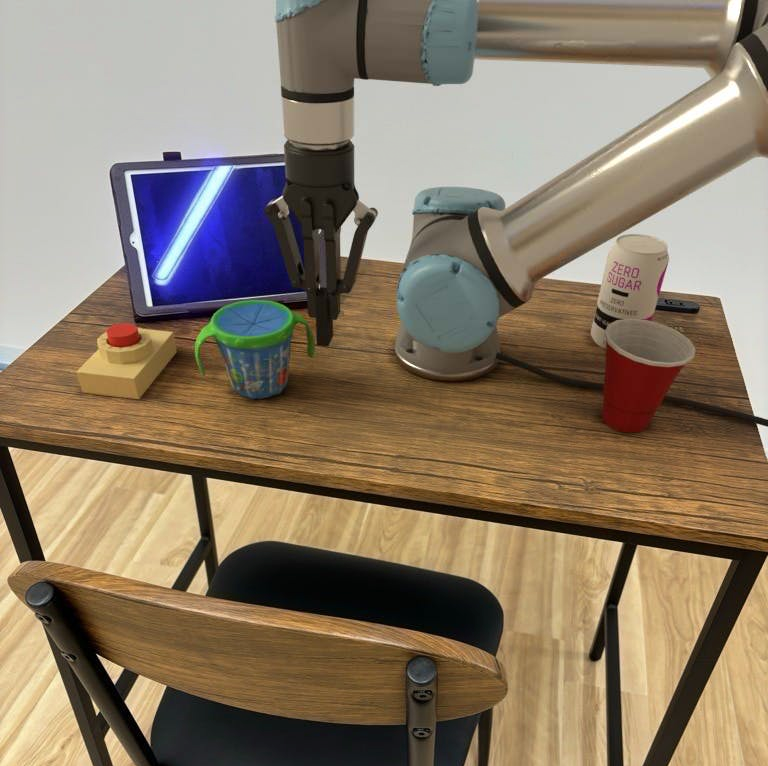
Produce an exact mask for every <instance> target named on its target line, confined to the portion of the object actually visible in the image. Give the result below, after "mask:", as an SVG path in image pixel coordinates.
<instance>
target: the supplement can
mask: <svg viewBox="0 0 768 766" xmlns="http://www.w3.org/2000/svg"><path fill="white" fill-rule="evenodd" d="M669 255H670V254H669V251H668V244H667V242H665V241H664V240H662V239H660V238H658V237H655V236H652V235H647V234H640V233H629V234H623V235H620V236H618V237H616V239H615V242H614V243H613V244H612V246H611V247H610V248H609V249H608V253H607V258H606V263H605V266H604V271H603V275H602V280H601V285H600V288H599V293H598V297H597V302H596V307H595V311H594V316H593V320H592V323H591V328H590V337H591V338H592V339H593V341H594V342H595V344H596V345H598V346H599V347H601V348H603V349H605V350H606V344H607V343H606V338H605V331H606V328H607V326H608V325H609V324H611V323H613V322H615V321H616V320H623V319H639V320H648V321H652V322H653V318H654V314H655V311H656V307H657V303H658V300H659V297H660V293H661V291H662V286H663V283H664V279H665V275H666V272H667V269H668V265H669V262H670V256H669Z"/></svg>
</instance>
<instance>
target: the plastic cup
mask: <svg viewBox="0 0 768 766" xmlns="http://www.w3.org/2000/svg"><path fill="white" fill-rule="evenodd" d="M605 338H606V343H607V344H606V349H605V366H604V378H603V384H604V389H603V390H602V396H603V399H602V400H603V401H602V419H603V421H604V423H605V425H607V426H608V427H609V428H611V429H613V430H615V431H618V432H622V433H626V434H636V433H640V432H642V431H644V430H646V429H647V427H648V425H649V424H650V423H651V421H652V419H653V417H654V415H655V414H656V412H657V410H658V409H659V408H660V406H661V405H662V403H663V402H664V401H663V399H664V397H665V395H667V394H668V392H669V390H670V389H671V386H672V384H673V383H674V381H675V379H676V377H677V376H678V375H679V374H680V372H681V370H682V369H684V367H685V365H687V364H688V363H689V362H691V361H693V359H694V358H695V355H696V351H697V350H696V347H695V346H694V344H693V342H692V341H691V339H689V338H688V337H687V336H686V335H684V334H683V333H681V332H680V331H679V330H676V329H674V328H672V327H670V326H667V325H666V324H662V323H659V322H655V321H653V320H652V321H648V320H639V319H623V320H616V321H615V322H613V323H611V324H609V325H608V326H607V328H606V331H605Z"/></svg>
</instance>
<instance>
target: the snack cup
mask: <svg viewBox="0 0 768 766" xmlns="http://www.w3.org/2000/svg"><path fill="white" fill-rule="evenodd" d="M297 324H300V325H304V326H305V333H306V342H307V344H306V354H307V356H308V357H309V358H310V359H311V358H314V356H315V350H316V341H315V336H314V332H313V329H312V327H311V326H310V324H309V322H308V321H307V320H306V319H305V318H304V317H303V316H302V315H301V314H300V313H297V312H295V311H292V310H291V309H290V308H289V307H287V306H286V305H284V304H282V303H280V302H276V301H271V300H265V299H247V300H241V301H237V302H233V303H230V304H227V305H225V306H223V307H221V308H220V309H218V310H216V312H214V313H213V315H212V317H211V319H210V322H209V323H208V324H207V325H205V326H204V327H203V328H201V330H200V331H199V334H198V335H197V337H196V340H195V344H194V356H195V361H196V363H197V366H198V369H199V371H200V373H201V376H203V377H204V376H206V372H205V369H204V366H203V364H202V360H201V357H200V350H201V347H202V346H203V345H204V343H205V342H206V341H207V339H209V338H214V340H215V343H216V345H217V348H218V349H219V351H220V354H221V355H222V358H223V362H224V366H225V368H226V373H227V376H228V378H229V381H230V384H231V387H232V389H233V391H235V392H236V393H237V394H239V395H240V396H243V397H245V398H249V399H251V400H257V399H260V400H261V399H265V398H270V397H273V396H276V395H280V394H281V393H282V391H283V390H284V389H285V388H286V387H287V384H288V380H289V375H290V374H289V372H290V371H289V370H290V359H291V343H292V337H293V334H294V330H295V326H297Z"/></svg>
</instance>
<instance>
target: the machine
mask: <svg viewBox="0 0 768 766" xmlns="http://www.w3.org/2000/svg"><path fill="white" fill-rule="evenodd" d="M137 328H138V333H139V337H140V341H139V343H137V344H135V345H132V346H129V347H122V348H120V347H112V346H111V345H110V344H109V340H108V336H107V331H105V332H104V333H102V334H101V335H100V336H99V337H98V338H97V340H96V342H97V348H98V349H97V350H96V351H95V352H94V353H93V354H91V356H90V357H89V358H88V359H87V360H86V361H85V363H83V364H82V366H80V367H79V368H78V370H76V376H77V378H78V382H79V385H80V388H81V393H83V394H92V395H100V396H108V397H109V396H110V397H117V398H125V399H134V400H140V399H141V398H142V396H143V395H144V394H145V392H146V391H147V390H148V388H149V387H150V386H151V385H152V383H153V382H154V381H155V380H156V378H157V377H158V376H159V375H160V374H161V373H162V371H163V370H164V369H165V367H166V366H167V365H168V364H169V362H170V361H171V360H172V359H173V358H174V356H176V354H177V352H178V351H177V346H176V339H175V334H174V332H173V331H169V330H159V329H150V328H141V327H137Z"/></svg>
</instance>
